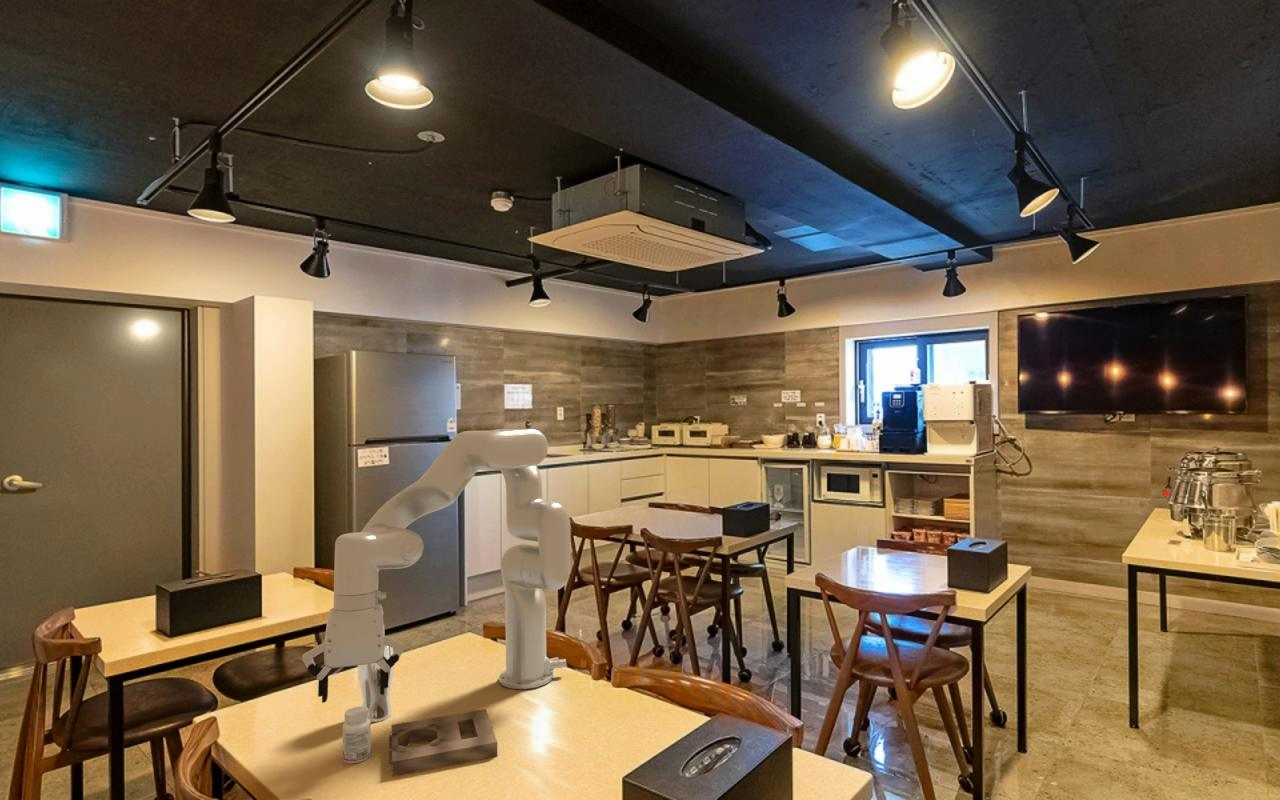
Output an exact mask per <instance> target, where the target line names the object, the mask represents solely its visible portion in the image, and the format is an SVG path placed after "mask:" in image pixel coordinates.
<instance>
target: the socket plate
mask: <svg viewBox="0 0 1280 800" xmlns="http://www.w3.org/2000/svg"><path fill="white" fill-rule="evenodd" d="M487 711H488V710H487V708H484V709H476V710H471V711H465V712H460V713H453V714H447V715H442V716H436V717H435V716H434V717H429V718H425V719H418V720H413V721H406V722H400V723H394V724H391V734H390V735H389V736H388V738H389V740H388V747H389V748H388V749H390V750H389V751H388V754H389V755H388V756H389V757H388V759H389V761H388V762H389V763H388V764H389V765H391V776H393V777H396V775H398V776H402V775H409V774H413V773H418V772H422V771H427V770H432V769H439V768H442V767H448V766H453V765H458V764H463V763H467V762H472V761H479V760H482V759H483V760H484V759H488V758H493V757H498V740H497V737H496V734H495V731H494V729H493V726H492V723H491V720H490V717H489V714H488V712H487ZM468 733H473V736H474V737H469V738H462V736H461V734H468ZM424 742H426V743H428V744H422V745H418V746H412V747H407V746H408V744H409V745H412V743H413V744H417V743H424Z"/></svg>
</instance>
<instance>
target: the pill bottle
mask: <svg viewBox="0 0 1280 800" xmlns="http://www.w3.org/2000/svg"><path fill="white" fill-rule="evenodd" d="M368 717H369V713H368V708H367V707H362V706H355V707H352V708H349V709H348V710H346V711H345V712H344V723H343V725H342V760H343V762H344V763H346V764H358V763H362V762H364V761H366V760H367V759H369V758H370V757H371V756H372V755H371V754H372V745H371V744H372V743H371V741H372V739H371V738H372V736H371V735H372V734H371V733H372V732H371V727H372V726H371V723H372V722H371V721H370V719H369V718H368Z"/></svg>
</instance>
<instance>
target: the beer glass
mask: <svg viewBox="0 0 1280 800" xmlns="http://www.w3.org/2000/svg"><path fill="white" fill-rule="evenodd" d="M393 654H394V648H392V647H389V646H387V645H385V649H384V656H385V657H386V658H387V660H388V659H389V658H390V657H391V656H392V655H393ZM394 666H395V664H394V665H393V667H392V668H391V669H390V671H389V675H388V688H384V695H381V694H380V671H381V668H380V666H379V665H378V664H377V663H373V664H365V665H357V674H358V680H359V681H358V682H359V686H360V693H361V698H362V699H361V701H362V703H361V705H362V706H361V707H367V708H368V713H369V717H368V718H369V719H370V721H371V723H378V722H381V720H382V721H384V719H385V720H387V719H388V718H390V717H391V716H392V714H393V713H392V707H391V701H390V699H391V698H390V697H391V696H390V693H391V687H392V682H393V681H392V680H393V676H394ZM389 716H390V717H389ZM386 718H387V719H386Z"/></svg>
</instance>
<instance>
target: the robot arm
mask: <svg viewBox="0 0 1280 800" xmlns="http://www.w3.org/2000/svg"><path fill="white" fill-rule="evenodd" d="M548 450H549V444H548V440H547V438H546V436H545V434H544V433H542V432H541V431H540V430H537V429H535V428H497V429H492V430H465V431H461V432H459V433H457V434H455V436H454V437H453V438H452V439H451V440H450V441H449V442H448V444H447V445H446V446H445V447H444V449H443V450H442V451H440V454H438V456H437V458H435V459H434V461H433V462H432V463H431V465H430V466H429V467H428V469H427V470H426V471H425V472H424V473H423V475H422V476H421V477H420V478H419V479H418V480H416V481H414V483H412V484H410V485H408V486H407V487H405V488H404V489H403V490H401V491H400V492H398V493H396V494H395V495H394V496H392V497H391V498H390V499H388V500H387V501H386V502H384V504H383V505H381V507H380V508H378V510H377V511H376V512H375V513H374V514H373V516H372V517H371V518H370V519H369V520H368V521H367V523H366V524H365V525H364V527H363V528H362V530H361V531H359V532H358V531H357V532H349V533H343V534H341V535H339V536H338V537H337V538H336V539H335V543H334V572H333V574H334V575H333V608H331V609H329V611H328V615H327V620H326V628H325V635H324V636H325V637H324V642H322V643H319V644H318V645H316V646H315V647H313V648H311V649H310V650H308V651H306V652H304V653H303V654H302V657H301V661H302V662H303V663H304V666H305V667H306V668H307V671H308V672H309V673H310V674H312V676H314V677H315V678H316V679H317V680H318V686H317V687H318V689H317V692H318V693H317V695H318V697H319V698H320V697H321V703H326V702H327V700H328V696H329V675H328V673H330V672H331V670H332V669H336V668H339V669H340V668H344V667H345V668H348V667H356V666H357V667H358V665H365V664H373V663H377V664H378V665H379V666H380V668H381V671H380V694H381V695H384V688H388V675H389V671H390V669H391V668H392V667H393V665H394V666H395V665H396V664H397V662H399V660H400V657H401V656H402V653H403V652H404V650H405V649H406V645H405V643H404V641H403V642H402V641H400V640H398V639H395V638H392V637H390V636H387V635H385V633H386V632H385V617H384V616H385V614H384V609H383V605H382V604H381V603H380V602H381V601H384V600H387V592H386V591H385V592H383V591H380V590H379V571H380V570H394V569H395V570H396V569H398V570H400V569H405V568H408V567H411V566H413V565H415V563H417V562H418V561H419V560H420V558H421V556H422V555H423V553H424V547H425V546H424V541H423V539H422V537H421V536H420V535H419V533H417V532H416V531H413V530H411V529H408V528H407V527H408V526H409V525H411V524H412V523H413V522H415V521H416V520H418V519H420V518H422V517H423V516H426V515H429V514H432V513H434V512H438V511H439V510H442V509H444V508H447V507H449V506H451V505H452V504H454V503H455V501H456V500H457V499H458V498H459V496H460V495H461V494H462V492H463V491H464V490H465V488H466V487H467V485H468V484H469V483H470V482H471V480H472V479H473V478H474V477H475V475H476V474H477V472H478V471H481V470H482V471H500V472H501V474H502V475H503V479H504V483H505V492H506V496H505V497H506V498H505V499H506V501H505V502H506V503H505V505H506V507H505V508H506V526H507V527H506V528H507V531H508V534H509V535H510V536H512V538H513V537H514V538H515V539H519V540H524V541H531V542H538V545H533V544H523V543H522V544H515V545H512V546H511V547H509V548H508V549H507V550H506V551H505V552H504V554H503V556H502V558H501V561H500V574H501V578H502V584H503V590H504V602H505V669H504V670H503V671H502V672H501V673H500V674H499V676H498V678H499V679H498V680H499V682H498V683H499V684H500V685H501V686H504V687H505V688H508V689H512V690H513V689H514V690H528V689H534V688H539V687H542V686H544V685H547V684H549V682H551V681H552V680H553V678H554V669H561V668H562V669H563V668H567V659H566V658H562V659H561V658H560V659H559V657H558V656H556V657H552V658H549V657H548V656H547V601H546V597H545V593H544V591H553V592H554V591H558V590H560V589H562V588H563V587H564V586H565V585H566V584H567V582H568V580H569V578H570V575H571V565H572V557H571V555H572V553H571V551H572V550H571V547H572V546H571V521H570V516H569V513H568V512H567V510H566V508H565V507H564V506H563V505H562V504H560V503H559V502H556V501H550V500H544V498H543V497H544V496H543V486H542V477H541V473H540V470H539V468H538V465H540V464H541V463H542V462H543V461H544V460H545V458H546V457H547V454H548ZM385 645H387V646H389V647H392V648H393V650H394V649H395V650H394V651H393V655H392V656H391V657H390V658H389V659H388V660H387V658H386V657H385V656H384V649H385ZM321 653H323V662H324V664H323V665H322V666H320V665H318V663H316V662H315V661H314V658H315V657H317V656H318V655H320V654H321Z"/></svg>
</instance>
